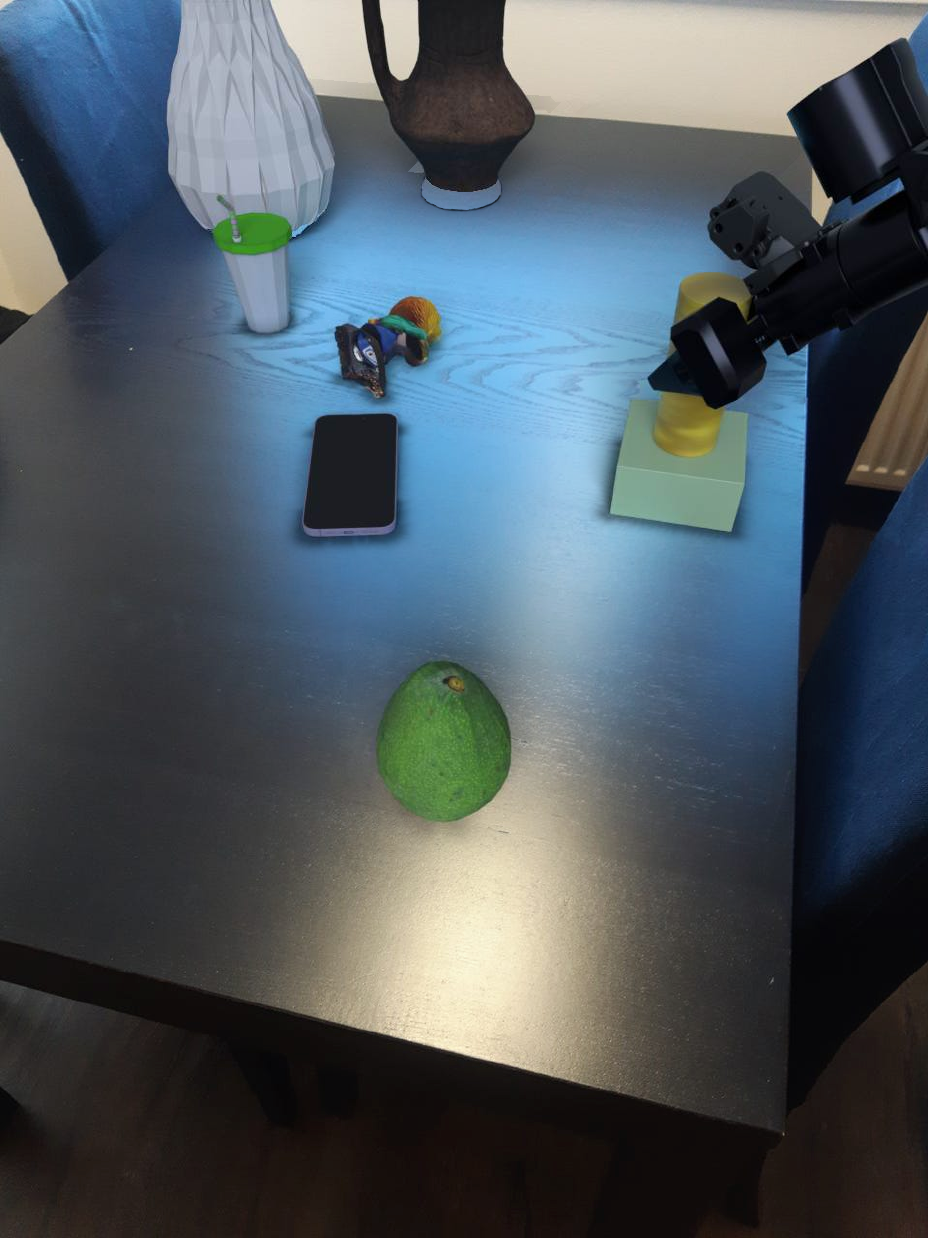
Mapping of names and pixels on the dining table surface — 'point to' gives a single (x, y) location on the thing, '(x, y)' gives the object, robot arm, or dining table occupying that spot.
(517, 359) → the dining table surface
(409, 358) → the figurine
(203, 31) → the vase
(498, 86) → the jug
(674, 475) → the green block
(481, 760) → the fruit
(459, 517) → the dining table surface
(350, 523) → the smartphone
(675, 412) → the yellow tumbler
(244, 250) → the cup
